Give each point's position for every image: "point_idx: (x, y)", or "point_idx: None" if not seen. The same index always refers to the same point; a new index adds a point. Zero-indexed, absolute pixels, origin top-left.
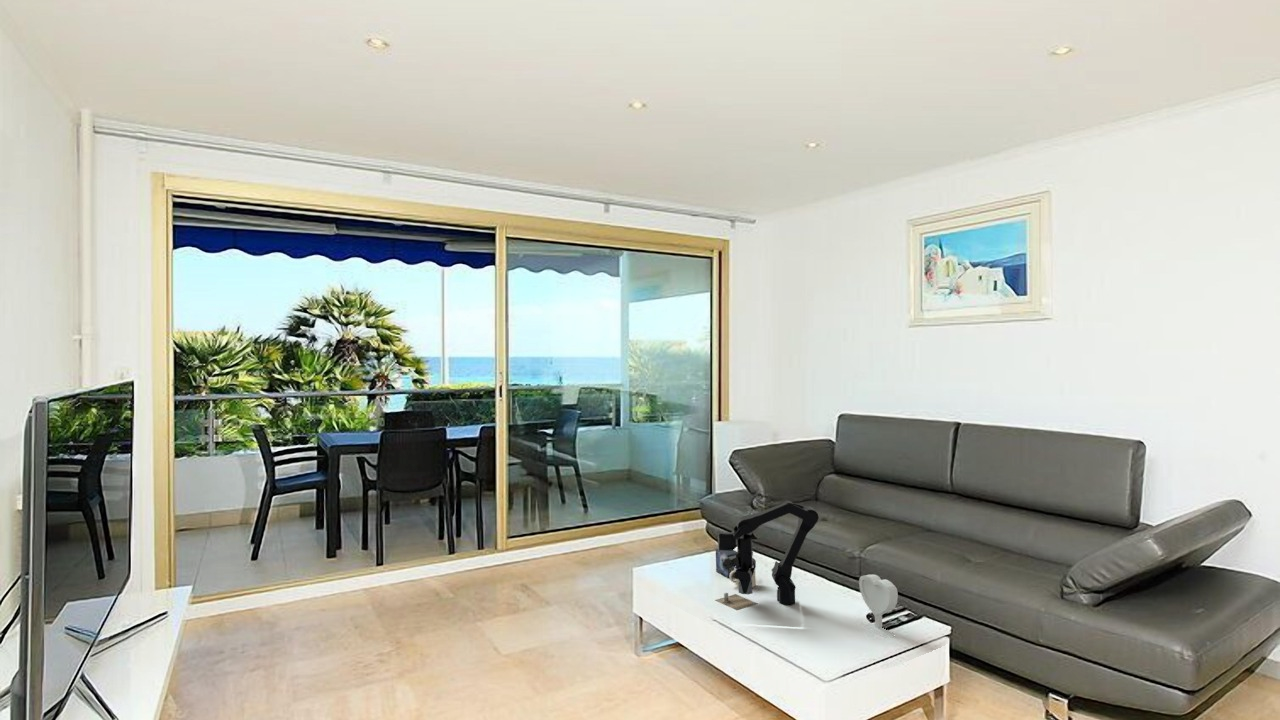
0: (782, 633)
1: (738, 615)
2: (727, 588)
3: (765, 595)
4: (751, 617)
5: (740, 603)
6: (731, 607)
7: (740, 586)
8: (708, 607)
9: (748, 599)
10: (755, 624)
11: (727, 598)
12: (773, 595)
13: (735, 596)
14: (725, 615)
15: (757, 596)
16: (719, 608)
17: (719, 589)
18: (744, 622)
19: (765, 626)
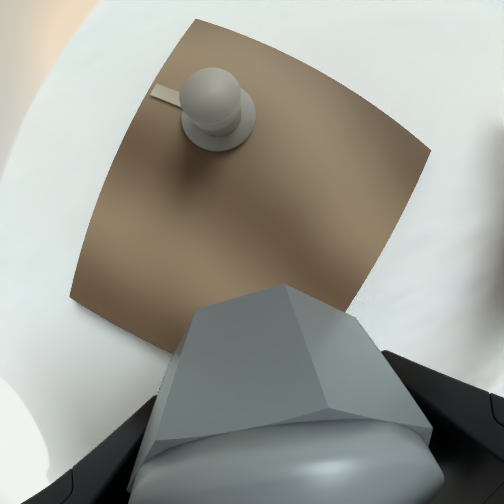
0: (55, 471)
1: (46, 314)
2: (497, 74)
3: (466, 343)
4: (74, 387)
5: (218, 275)
6: (89, 234)
7: (152, 416)
8: (75, 51)
9: (349, 304)
10: (33, 407)
11: (203, 129)
12: (465, 375)
13: (381, 164)
14: (7, 235)
15: (451, 310)
16: (80, 128)
17: (462, 24)
18: (12, 362)
19: (50, 438)
